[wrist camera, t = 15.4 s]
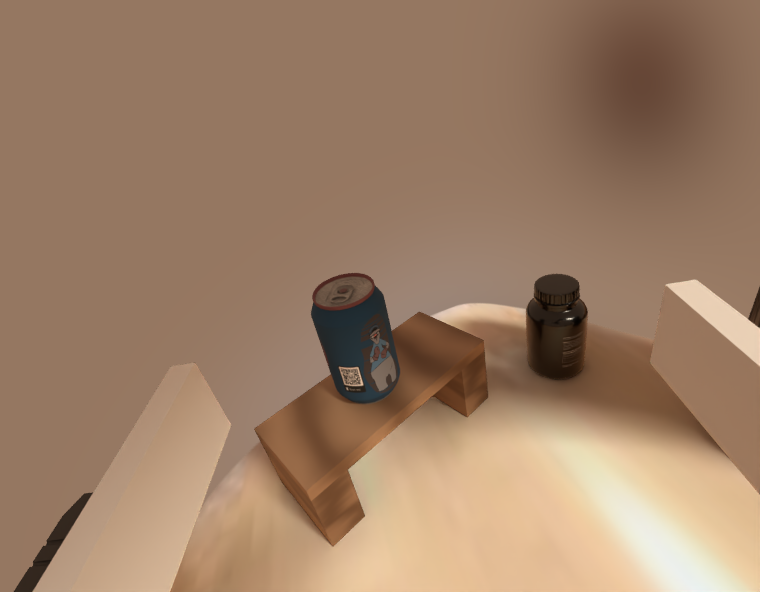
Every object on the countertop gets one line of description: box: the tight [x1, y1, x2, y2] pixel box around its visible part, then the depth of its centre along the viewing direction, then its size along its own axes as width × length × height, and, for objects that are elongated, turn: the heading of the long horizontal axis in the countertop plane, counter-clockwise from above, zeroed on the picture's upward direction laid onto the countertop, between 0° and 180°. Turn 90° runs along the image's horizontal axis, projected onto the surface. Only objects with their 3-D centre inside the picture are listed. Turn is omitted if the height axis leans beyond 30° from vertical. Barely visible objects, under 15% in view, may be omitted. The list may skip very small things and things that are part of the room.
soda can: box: [311, 273, 400, 404], centre depth 41 cm, size 7×7×12 cm
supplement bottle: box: [526, 274, 588, 379], centre depth 51 cm, size 7×7×12 cm
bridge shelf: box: [254, 312, 488, 546], centre depth 46 cm, size 24×10×9 cm, turn 132°
